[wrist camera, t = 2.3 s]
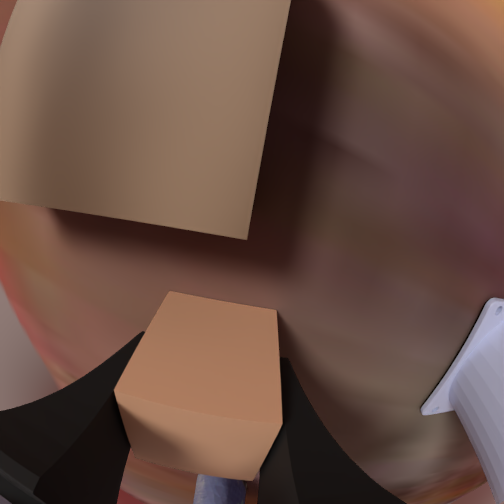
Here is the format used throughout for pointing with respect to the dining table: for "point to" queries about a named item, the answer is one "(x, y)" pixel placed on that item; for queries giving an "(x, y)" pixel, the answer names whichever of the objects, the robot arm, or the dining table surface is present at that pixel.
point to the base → (139, 108)
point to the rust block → (204, 387)
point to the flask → (219, 490)
